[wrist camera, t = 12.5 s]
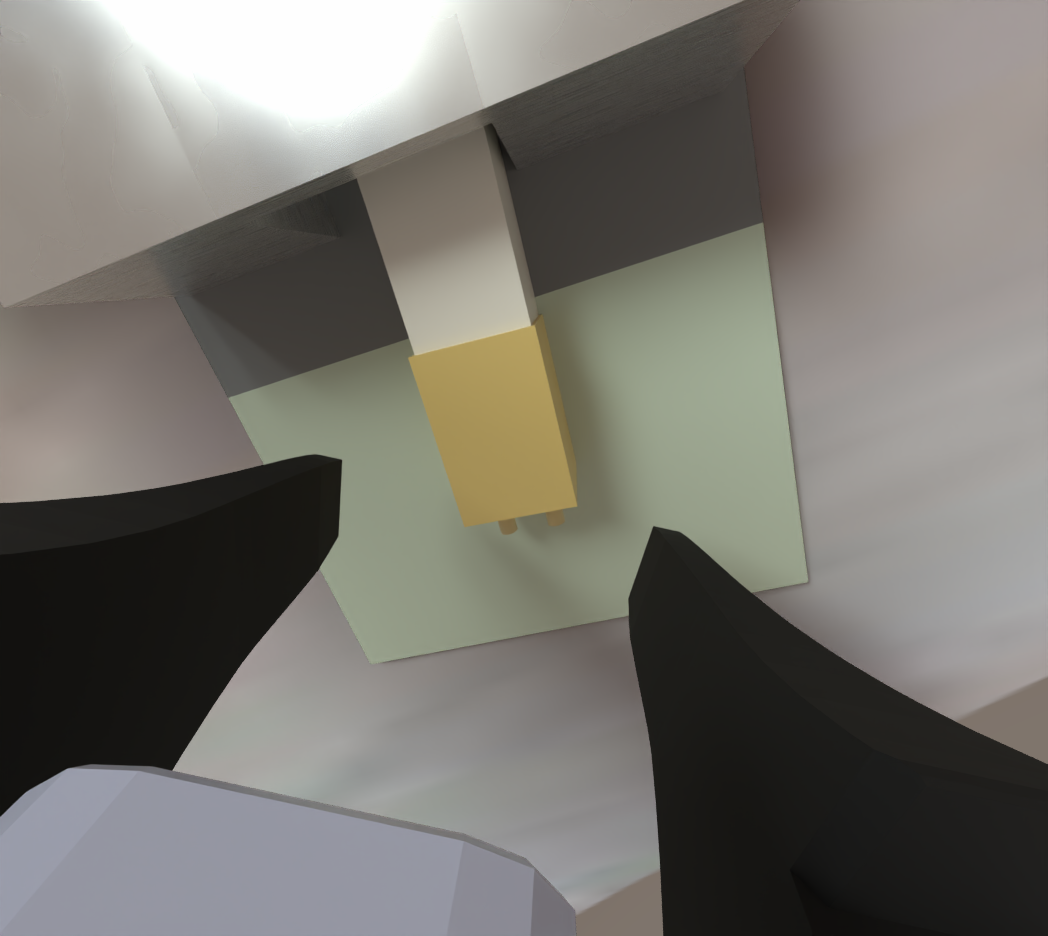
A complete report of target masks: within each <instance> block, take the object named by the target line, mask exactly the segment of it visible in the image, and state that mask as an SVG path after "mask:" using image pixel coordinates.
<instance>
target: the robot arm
mask: <svg viewBox="0 0 1048 936" xmlns="http://www.w3.org/2000/svg"><path fill="white" fill-rule="evenodd" d="M341 477H342V459H337V458H332V457H328V456H323V455H318V454H312V455H304V456H299V457H294V458H289V459H285V460H281V461H277V462H273V463H269V464H265V465H261V466H257V467H253V468H249V469H245V470H241V471H237V472H233V473H228V474H224V475H219V476H215V477H210V478H205V479H201V480H196V481H192V482H187V483H182V484H177V485H172V486H166V487H161V488H155V489H148V490H141V491H134V492H127V493H120V494H112V495H104V496H93V497H82V498H70V499H59V500H48V501H35V502H17V503H0V936H576V916H575V910H574V909H573V907H572V906H571V905H570V904H569V903H568V902H567V900H566V899H565V898H564V897H563V896H562V895H561V894H560V893H559V892H558V891H557V890H556V889H555V888H554V887H553V886H552V885H551V883H550V882H549V881H548V880H547V879H546V878H545V877H544V876H543V875H542V874H541V873H540V872H539V871H538V870H537V869H536V868H535V867H534V866H533V865H532V864H531V863H530V862H529V861H528V860H527V859H526V858H524V857H521V856H519V855H516V854H514V853H511V852H509V851H506V850H504V849H501V848H499V847H496V846H494V845H491V844H489V843H486V842H484V841H481V840H479V839H476V838H474V837H471V836H468V835H466V834H462V833H458V832H453V831H449V830H444V829H439V828H435V827H430V826H425V825H421V824H416V823H412V822H407V821H402V820H398V819H393V818H388V817H384V816H379V815H375V814H370V813H365V812H361V811H356V810H351V809H347V808H342V807H337V806H333V805H328V804H324V803H319V802H314V801H310V800H305V799H300V798H296V797H291V796H287V795H282V794H277V793H273V792H268V791H263V790H259V789H254V788H250V787H245V786H240V785H236V784H231V783H226V782H222V781H217V780H213V779H208V778H203V777H199V776H194V775H189V774H185V773H180V772H175V771H172V770H173V768H174V767H175V765H176V763H177V762H178V760H179V758H180V757H181V755H182V754H183V752H184V751H185V749H186V747H187V746H188V744H189V743H190V741H191V740H192V738H193V736H194V735H195V733H196V732H197V730H198V729H199V727H200V725H201V724H202V722H203V721H204V719H205V718H206V716H207V714H208V713H209V711H210V710H211V708H212V707H213V705H214V704H215V702H216V701H217V699H218V698H219V696H220V695H221V693H222V692H223V690H224V689H225V687H226V686H227V684H228V683H229V681H230V680H231V678H232V677H233V675H234V674H235V673H236V671H237V670H238V668H239V667H240V665H241V664H242V662H243V661H244V660H245V659H246V657H247V656H248V655H249V653H250V652H251V651H252V649H253V648H254V647H255V646H256V644H257V643H258V642H259V641H260V640H261V638H262V637H263V636H264V635H265V634H266V632H267V631H268V630H269V629H270V628H271V626H272V625H273V624H274V623H275V622H276V620H277V619H278V618H279V617H280V616H281V615H282V613H283V612H284V611H285V610H286V609H287V607H288V606H289V605H290V604H291V603H292V601H293V600H294V599H295V598H296V597H297V595H298V594H299V593H300V592H301V591H302V589H303V588H304V587H305V586H306V585H307V583H308V582H309V581H310V580H311V578H312V577H313V576H314V575H315V573H316V572H317V571H318V570H319V568H320V566H321V565H322V563H323V562H324V560H325V558H326V557H327V555H328V554H329V552H330V550H331V549H332V547H333V545H334V543H335V542H336V540H337V538H338V537H339V518H340V497H341ZM628 606H629V628H630V640H631V645H632V651H633V656H634V661H635V667H636V672H637V677H638V682H639V687H640V692H641V697H642V702H643V707H644V712H645V717H646V722H647V727H648V733H649V740H650V746H651V753H652V764H653V775H654V786H655V797H656V810H657V825H658V839H659V854H660V872H661V893H662V913H663V936H1048V764H1046V763H1043V762H1041V761H1039V760H1037V759H1035V758H1033V757H1030V756H1028V755H1026V754H1023V753H1022V752H1019V751H1017V750H1015V749H1013V748H1010V747H1008V746H1006V745H1004V744H1001V743H1000V742H997V741H995V740H993V739H991V738H988V737H986V736H984V735H982V734H980V733H977V732H975V731H973V730H971V729H969V728H967V727H965V726H963V725H961V724H959V723H957V722H955V721H953V720H951V719H949V718H947V717H945V716H944V715H942V714H940V713H938V712H936V711H934V710H932V709H930V708H928V707H926V706H924V705H922V704H920V703H918V702H916V701H914V700H913V699H911V698H909V697H907V696H905V695H903V694H902V693H900V692H898V691H896V690H894V689H893V688H891V687H889V686H887V685H885V684H884V683H882V682H880V681H879V680H877V679H875V678H874V677H872V676H870V675H869V674H867V673H865V672H863V671H862V670H860V669H858V668H857V667H855V666H853V665H852V664H850V663H848V662H847V661H845V660H844V659H842V658H840V657H839V656H837V655H836V654H834V653H833V652H831V651H829V650H828V649H826V648H825V647H823V646H822V645H821V644H819V643H818V642H816V641H815V640H813V639H812V638H810V637H809V636H807V635H806V634H805V633H803V632H802V631H800V630H799V629H797V628H796V627H794V626H793V625H792V624H790V623H789V622H788V621H786V620H785V619H784V618H782V617H781V616H780V615H778V614H777V613H776V612H775V611H773V610H772V609H771V608H770V607H768V606H767V605H766V604H765V603H763V602H762V601H761V600H760V599H758V598H757V597H756V596H755V595H753V594H752V593H751V592H750V591H749V590H748V589H746V588H745V587H744V586H743V585H742V584H740V583H739V582H738V581H737V580H736V579H735V578H734V577H732V576H731V575H730V574H729V573H728V572H727V571H726V570H725V569H723V568H722V567H721V566H720V565H719V564H718V563H717V562H716V561H714V560H713V559H712V558H711V557H710V556H709V555H708V554H707V553H706V552H704V551H703V550H702V549H701V548H700V547H699V546H698V545H696V544H695V543H694V542H693V541H692V540H691V539H689V538H688V537H687V536H685V535H684V534H683V533H681V532H679V531H674V530H670V529H665V528H660V527H656V526H653V528H652V531H651V534H650V537H649V540H648V543H647V546H646V548H645V551H644V554H643V557H642V560H641V563H640V566H639V569H638V572H637V575H636V577H635V580H634V583H633V586H632V589H631V592H630V595H629V598H628Z"/></svg>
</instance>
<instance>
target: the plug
mask: <svg viewBox="0 0 1048 936" xmlns="http://www.w3.org/2000/svg"><path fill="white" fill-rule="evenodd" d="M357 181H358V184H359V187H360V190H361V193H362V196H363V199H364V202H365V205H366V208H367V211H368V214H369V217H370V221H371V224H372V227H373V230H374V233H375V236H376V239H377V242H378V245H379V248H380V251H381V254H382V257H383V260H384V263H385V266H386V269H387V272H388V275H389V278H390V282H391V285H392V288H393V291H394V294H395V297H396V300H397V303H398V306H399V309H400V312H401V315H402V318H403V321H404V324H405V327H406V330H407V333H408V336H409V340H410V343H411V346H412V349H413V352H414V355H412V356H410V357H409V358H408V359H409V362H410V365H411V368H412V371H413V374H414V377H415V380H416V383H417V386H418V389H419V392H420V395H421V398H422V401H423V404H424V407H425V410H426V413H427V416H428V419H429V422H430V425H431V428H432V431H433V434H434V437H435V440H436V443H437V446H438V449H439V452H440V455H441V458H442V461H443V464H444V467H445V470H446V473H447V476H448V479H449V482H450V485H451V488H452V491H453V494H454V497H455V500H456V503H457V506H458V509H459V512H460V515H461V518H462V521H463V524H464V527H468V526H474V525H479V524H485V523H490V522H496V521H498V524H499V527H500V530H501V533H502V534H503V535H509V534H512V533H514V532H516V531H517V529H518V527H517V524H516V520H515V518H517V517H523V516H528V515H534V514H539V513H544V512H545V514H546V518H547V522H548V525H549V526H559V525H561V524H563V523H564V522H565V517H564V513H563V509H566V508H572V507H577V471H576V459H575V455H574V450H573V446H572V442H571V437H570V433H569V429H568V424H567V420H566V415H565V411H564V407H563V402H562V398H561V394H560V389H559V385H558V380H557V376H556V372H555V367H554V363H553V359H552V354H551V350H550V345H549V341H548V337H547V332H546V328H545V324H544V319H543V315H542V314H541V315H539V314H538V309H537V305H536V301H535V296H534V292H533V288H532V283H531V279H530V275H529V270H528V266H527V262H526V257H525V253H524V249H523V244H522V240H521V236H520V231H519V227H518V223H517V218H516V214H515V210H514V205H513V201H512V197H511V192H510V188H509V184H508V179H507V175H506V171H505V166H504V162H503V158H502V153H501V149H500V145H499V140H498V136H497V132H496V129H495V128H494V126H493V124H492V123H490V124H488V125H485V126H483V127H481V128H478V129H476V130H473V131H471V132H468V133H466V134H463V135H461V136H459V137H456V138H454V139H451V140H449V141H446V142H444V143H441V144H439V145H437V146H434V147H432V148H429V149H427V150H424V151H422V152H419V153H417V154H414V155H412V156H410V157H407V158H405V159H402V160H400V161H397V162H395V163H392V164H390V165H388V166H385V167H383V168H380V169H378V170H375V171H373V172H370V173H368V174H366V175H363V176H361V177H358V178H357Z"/></svg>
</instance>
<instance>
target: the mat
mask: <svg viewBox="0 0 1048 936" xmlns="http://www.w3.org/2000/svg"><path fill="white" fill-rule="evenodd" d="M496 132H497V131H496ZM497 136H498V140H499V145H500V149H501V153H502V158H503V162H504V166H505V171H506V175H507V179H508V184H509V188H510V192H511V197H512V201H513V205H514V210H515V214H516V218H517V223H518V227H519V231H520V236H521V240H522V244H523V249H524V253H525V257H526V262H527V266H528V270H529V275H530V279H531V283H532V288H533V292H534V296H535V301H536V305H537V309H538V314H539V315H541V314H542V315H543V319H544V324H545V328H546V332H547V337H548V341H549V345H550V350H551V354H552V359H553V363H554V367H555V372H556V376H557V380H558V385H559V389H560V394H561V398H562V402H563V407H564V411H565V415H566V420H567V424H568V429H569V433H570V437H571V442H572V446H573V450H574V455H575V459H576V471H577V507H572V508H566V509H563V513H564V517H565V522H564V523H563V524H561V525H559V526H549V525H548V522H547V518H546V514H545V512H544V513H539V514H534V515H528V516H523V517H517V518H515V520H516V524H517V527H518V529H517V531H516V532H514V533H512V534H509V535H503V534H502V533H501V530H500V527H499V524H498V521H496V522H490V523H485V524H479V525H474V526H468V527H464V524H463V521H462V518H461V515H460V512H459V509H458V506H457V503H456V500H455V497H454V494H453V491H452V488H451V485H450V482H449V479H448V476H447V473H446V470H445V467H444V464H443V461H442V458H441V455H440V452H439V449H438V446H437V443H436V440H435V437H434V434H433V431H432V428H431V425H430V422H429V419H428V416H427V413H426V410H425V407H424V404H423V401H422V398H421V395H420V392H419V389H418V386H417V383H416V380H415V377H414V374H413V371H412V368H411V365H410V362H409V359H408V358H409V357H410V356H412V355H414V352H413V349H412V346H411V343H410V340H409V336H408V333H407V330H406V327H405V324H404V321H403V318H402V315H401V312H400V309H399V306H398V303H397V300H396V297H395V294H394V291H393V288H392V285H391V282H390V278H389V275H388V272H387V269H386V266H385V263H384V260H383V257H382V254H381V251H380V248H379V245H378V242H377V239H376V236H375V233H374V230H373V227H372V224H371V221H370V217H369V214H368V211H367V208H366V205H365V202H364V199H363V196H362V193H361V190H360V187H359V184H358V181H357V178H356V179H353V180H351V181H348V182H346V183H343V184H341V185H339V186H336V187H334V188H331V189H329V190H326V191H324V195H325V197H326V200H327V202H328V205H329V207H330V209H331V212H332V214H333V217H334V219H335V222H336V224H337V227H338V229H339V232H340V234H341V237H342V238H339V239H337V240H334V241H331V242H329V243H326V244H324V245H321V246H318V247H316V248H313V249H311V250H308V251H305V252H303V253H300V254H298V255H295V256H292V257H290V258H287V259H285V260H282V261H279V262H277V263H274V264H272V265H269V266H266V267H264V268H261V269H259V270H256V271H253V272H251V273H248V274H246V275H243V276H240V277H238V278H235V279H233V280H230V281H227V282H225V283H222V284H220V285H217V286H214V287H212V288H209V289H206V290H204V291H201V292H199V293H196V294H193V295H191V296H178V297H175V299H176V301H177V303H178V305H179V307H180V309H181V311H182V312H183V314H184V316H185V318H186V320H187V322H188V324H189V326H190V327H191V329H192V331H193V333H194V335H195V337H196V339H197V340H198V342H199V344H200V346H201V348H202V350H203V352H204V354H205V355H206V357H207V359H208V361H209V363H210V365H211V367H212V369H213V370H214V372H215V374H216V376H217V378H218V380H219V382H220V383H221V385H222V387H223V389H224V391H225V393H226V395H227V397H228V398H229V400H230V402H231V404H232V406H233V408H234V410H235V412H236V413H237V415H238V417H239V419H240V421H241V423H242V425H243V427H244V428H245V430H246V432H247V434H248V436H249V438H250V440H251V441H252V443H253V445H254V447H255V449H256V451H257V453H258V455H259V456H260V458H261V460H262V462H263V464H264V465H265V464H269V463H273V462H277V461H281V460H285V459H289V458H294V457H299V456H304V455H312V454H318V455H323V456H328V457H332V458H337V459H342V477H341V497H340V518H339V537H338V538H337V540H336V542H335V543H334V545H333V547H332V549H331V550H330V552H329V554H328V555H327V557H326V558H325V560H324V562H323V563H322V565H321V566H320V568H319V569H320V571H321V572H322V574H323V576H324V578H325V580H326V582H327V584H328V585H329V587H330V589H331V591H332V593H333V595H334V597H335V599H336V600H337V602H338V604H339V606H340V608H341V610H342V612H343V614H344V615H345V617H346V619H347V621H348V623H349V625H350V627H351V629H352V630H353V632H354V634H355V636H356V638H357V640H358V642H359V643H360V645H361V647H362V649H363V651H364V653H365V655H366V657H367V658H368V660H369V662H370V664H376V663H381V662H386V661H392V660H397V659H402V658H407V657H413V656H418V655H423V654H429V653H434V652H439V651H445V650H450V649H455V648H461V647H466V646H471V645H477V644H482V643H487V642H493V641H498V640H503V639H508V638H514V637H519V636H524V635H530V634H535V633H540V632H546V631H551V630H556V629H562V628H567V627H572V626H578V625H583V624H588V623H594V622H599V621H604V620H609V619H615V618H620V617H625V616H629V606H628V598H629V595H630V592H631V589H632V586H633V583H634V580H635V577H636V575H637V572H638V569H639V566H640V563H641V560H642V557H643V554H644V551H645V548H646V546H647V543H648V540H649V537H650V534H651V531H652V528H653V526H656V527H660V528H665V529H670V530H674V531H679V532H681V533H683V534H684V535H685V536H687V537H688V538H689V539H691V540H692V541H693V542H694V543H695V544H696V545H698V546H699V547H700V548H701V549H702V550H703V551H704V552H706V553H707V554H708V555H709V556H710V557H711V558H712V559H713V560H714V561H716V562H717V563H718V564H719V565H720V566H721V567H722V568H723V569H725V570H726V571H727V572H728V573H729V574H730V575H731V576H732V577H734V578H735V579H736V580H737V581H738V582H739V583H740V584H742V585H743V586H744V587H745V588H746V589H748V590H749V591H750V592H751V593H753V592H758V591H764V590H769V589H774V588H780V587H785V586H790V585H796V584H801V583H806V582H808V576H807V568H806V560H805V552H804V544H803V536H802V528H801V520H800V512H799V504H798V496H797V488H796V480H795V472H794V464H793V456H792V448H791V440H790V432H789V424H788V416H787V408H786V400H785V392H784V384H783V376H782V368H781V360H780V352H779V344H778V336H777V328H776V320H775V312H774V305H773V297H772V289H771V281H770V273H769V265H768V257H767V249H766V241H765V233H764V225H763V217H762V209H761V201H760V193H759V185H758V177H757V169H756V161H755V153H754V145H753V137H752V129H751V121H750V113H749V105H748V97H747V89H746V81H745V73H744V67H743V68H742V69H741V70H740V72H739V73H738V74H737V75H736V76H735V78H734V79H733V80H732V81H731V82H730V83H729V85H728V86H727V87H726V88H725V89H724V91H722V92H719V93H717V94H714V95H711V96H709V97H706V98H704V99H701V100H698V101H696V102H693V103H691V104H688V105H685V106H683V107H680V108H678V109H675V110H672V111H670V112H667V113H665V114H662V115H659V116H657V117H654V118H652V119H649V120H646V121H644V122H641V123H639V124H636V125H633V126H631V127H628V128H626V129H623V130H620V131H618V132H615V133H613V134H610V135H607V136H605V137H602V138H600V139H597V140H594V141H592V142H589V143H587V144H584V145H581V146H579V147H576V148H574V149H571V150H568V151H566V152H563V153H560V154H558V155H555V156H553V157H550V158H547V159H545V160H542V161H540V162H537V163H534V164H532V165H529V166H527V167H524V168H521V169H519V170H517V169H516V167H515V165H514V163H513V161H512V159H511V157H510V156H509V154H508V152H507V150H506V148H505V146H504V144H503V143H502V141H501V139H500V137H499V135H498V133H497Z"/></svg>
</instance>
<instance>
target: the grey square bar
mask: <svg viewBox="0 0 1048 936" xmlns="http://www.w3.org/2000/svg"><path fill="white" fill-rule="evenodd" d="M799 1H800V0H0V302H1V304H2V306H3V307H4V308H11V307H27V306H42V305H57V304H72V303H87V302H102V301H117V300H132V299H148V298H163V297H178V296H191V295H193V294H196V293H199V292H201V291H204V290H206V289H209V288H212V287H214V286H217V285H220V284H222V283H225V282H227V281H230V280H233V279H235V278H238V277H240V276H243V275H246V274H248V273H251V272H253V271H256V270H259V269H261V268H264V267H266V266H269V265H272V264H274V263H277V262H279V261H282V260H285V259H287V258H290V257H292V256H295V255H298V254H300V253H303V252H305V251H308V250H311V249H313V248H316V247H318V246H321V245H324V244H326V243H329V242H331V241H334V240H337V239H339V238H342V237H341V234H340V232H339V229H338V227H337V224H336V222H335V219H334V217H333V214H332V212H331V209H330V207H329V205H328V202H327V200H326V197H325V195H324V191H326V190H329V189H331V188H334V187H336V186H339V185H341V184H343V183H346V182H348V181H351V180H353V179H356V178H358V177H361V176H363V175H366V174H368V173H370V172H373V171H375V170H378V169H380V168H383V167H385V166H388V165H390V164H392V163H395V162H397V161H400V160H402V159H405V158H407V157H410V156H412V155H414V154H417V153H419V152H422V151H424V150H427V149H429V148H432V147H434V146H437V145H439V144H441V143H444V142H446V141H449V140H451V139H454V138H456V137H459V136H461V135H463V134H466V133H468V132H471V131H473V130H476V129H478V128H481V127H483V126H485V125H488V124H490V123H492V124H493V126H494V128H495V129H496V131H497V133H498V135H499V137H500V139H501V141H502V143H503V144H504V146H505V148H506V150H507V152H508V154H509V156H510V157H511V159H512V161H513V163H514V165H515V167H516V169H517V170H519V169H521V168H524V167H527V166H529V165H532V164H534V163H537V162H540V161H542V160H545V159H547V158H550V157H553V156H555V155H558V154H560V153H563V152H566V151H568V150H571V149H574V148H576V147H579V146H581V145H584V144H587V143H589V142H592V141H594V140H597V139H600V138H602V137H605V136H607V135H610V134H613V133H615V132H618V131H620V130H623V129H626V128H628V127H631V126H633V125H636V124H639V123H641V122H644V121H646V120H649V119H652V118H654V117H657V116H659V115H662V114H665V113H667V112H670V111H672V110H675V109H678V108H680V107H683V106H685V105H688V104H691V103H693V102H696V101H698V100H701V99H704V98H706V97H709V96H711V95H714V94H717V93H719V92H722V91H724V89H725V88H726V87H727V86H728V85H729V83H730V82H731V81H732V80H733V79H734V78H735V76H736V75H737V74H738V73H739V72H740V70H741V69H742V68H743V67H744V66H745V65H746V63H747V62H748V61H749V60H750V59H751V58H752V56H753V55H754V54H755V53H756V52H757V50H758V49H759V48H760V47H761V46H762V45H763V43H764V42H765V41H766V40H767V39H768V37H769V36H770V35H771V34H772V33H773V32H774V30H775V29H776V28H777V27H778V26H779V24H780V23H781V22H782V21H783V20H784V19H785V17H786V16H787V15H788V14H789V13H790V11H791V10H792V9H793V8H794V7H795V6H796V4H797V3H798V2H799Z"/></svg>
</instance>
